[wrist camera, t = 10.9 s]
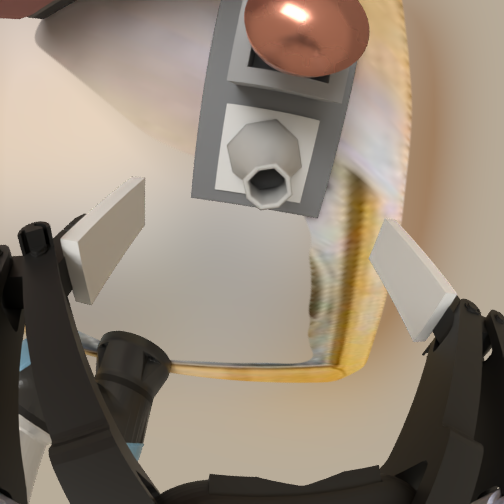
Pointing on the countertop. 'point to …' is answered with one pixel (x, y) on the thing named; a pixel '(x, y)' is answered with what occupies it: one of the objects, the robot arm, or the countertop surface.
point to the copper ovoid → (307, 34)
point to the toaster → (30, 8)
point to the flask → (265, 162)
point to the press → (265, 116)
